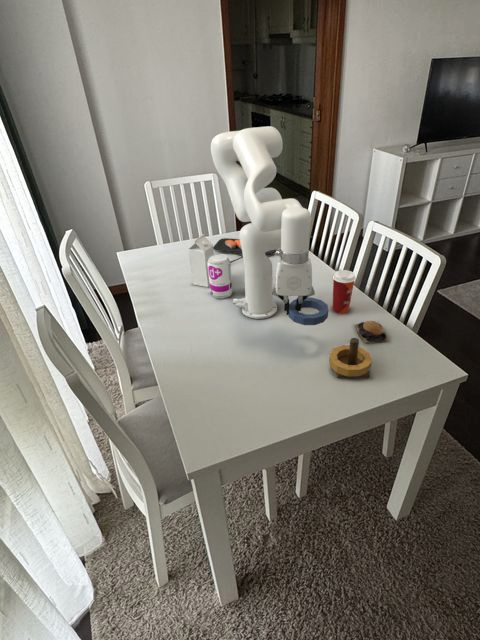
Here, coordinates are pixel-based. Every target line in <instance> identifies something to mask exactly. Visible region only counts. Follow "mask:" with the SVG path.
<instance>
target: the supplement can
mask: <svg viewBox="0 0 480 640" xmlns="http://www.w3.org/2000/svg"><path fill="white" fill-rule="evenodd" d="M230 261H231V259H230V258H229V256H228V255H227V254H225V253H214V255H211V256H210V257H209V260H208V262H207V263H208V273H209V282H210V286H209V289H210V291H209V292H210V295H211V296H212V297H213V298H215V299H226V298H229V297H230V296H231V295H232V294H233V282H232V270H231V267H232V266H231V263H230Z"/></svg>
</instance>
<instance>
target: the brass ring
mask: <svg viewBox="0 0 480 640" xmlns="http://www.w3.org/2000/svg"><path fill="white" fill-rule="evenodd" d="M349 347H350V344H342V345H339V346H337V347H333V349H332V350H331V352H330V353H329V357H328V358H329V359H328V362H329V367H330V369H332V370H333V371H334V372H335V373H336V372H337V373H338V374H341V375H344V376H348V377H353V376H361V375H363V374H366V373H368V371H369V372H370V369H371V367H372V363H373V359H372V356H371V353H370V352H369V351H367V350H366V349H365V348H364V347H361V346H358V353H357V358H359V359H360V360H361V361H362V362H363V363H361V364H358V365H347V364H344V363H342V362H340V361H339V360H338V358H340V357H342V356H348V355H349ZM337 373H336V374H337Z"/></svg>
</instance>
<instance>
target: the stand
mask: <svg viewBox="0 0 480 640" xmlns="http://www.w3.org/2000/svg"><path fill="white" fill-rule="evenodd" d="M349 345H350V347H349V355H348V356H342V357H340V358H338V360H339V361H340V362H342V363H344V364H347V365H358V364H361V363H363V362H362V361H361V360H360V359H359V358H357V353H358V347H360V346H359V345H360V339H359V338H357V337H351V338H350V341H349ZM335 373H336V378H338V379H370V376H371V372H370V370H369V371H368V373H366V374H363V375H361V376H353V377H348V376H344V375H341V374H338V373H337V372H335Z"/></svg>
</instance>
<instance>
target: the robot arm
mask: <svg viewBox="0 0 480 640" xmlns="http://www.w3.org/2000/svg"><path fill="white" fill-rule="evenodd" d="M283 145H284V143H283V137H282V135H281V133H280V131H279V130H278V129H277V128H276V127H274V126H271V125H270V126H269V125H268V126H258V127H247V128H243V129H241V130H233V131H232V130H231V131H225V132H221V133H218V134H216V135H215V136H214V137H213V138H212V140H211V142H210V154H211V159H212V162H213V165H214V167H215V169H216V171H217V173H218V175H219V177H220V178H221V180H222V181H223V183H224V185H225V186H226V190H227V192H228V196H229V198H230V202H231V205H232V208H233V211H234V213H235V215H236V218H237V219H238V220H239V221H240V222H242V223H247V224H245V225H243V226H242V227H241V228H240V230H239V234H238V236H239V237H238V239H240V244H241V248H242V253H241V254H242V256H243V258H242V261H243V274H244V276H243V277H244V293H245V296H244V297H242V298H233V300H232V302H233V305H235V306H236V308H241V312H242V314H243V315H245V316H246V317H247V318H250V319H255V320H263V319H268V318H271V317H273V316H274V315H275V314H276V313H277V312H278V306H277V304H276V303H275V302H274V301H273V299H274V298H273V297H278V299H279V300H281V301H282V302H283V304H284V305H283V311H284V312H286V316H289V304H290V299H289V297H293V296H294V297H297V298H295V299H296V310H297V311H298V312H302V308H301V303H302V302H303V301H304V300H305V299H306V298H307V297H313V296H315V295H316V292H315V289H314V286H313V267H312V266H313V265H312V260H311V258H310V257H309V252H310V239H311V238H310V237H311V222H312V221H311V220H312V215H311V212H310V210H308V209H307V208H305V207H303V206H302V204H301V203H300V202H299V200H298V199H296V198H291V197H290V198H282V195H281V194H280V192H279V191H278V190H277V189H276V188H274V187H267V186H269V185H270V184H271V183H272V182H273V181H274V179H275V178H276V175H277V172H278V171H277V166H276V164H275V162H274V160H273V158H277V157H279V156H280V155H281V153H282V151H283V147H284V146H283ZM237 162H239V163H240V164H238V163H237ZM249 222H250V223H249ZM275 249H276V250H275ZM271 250H275V257H279V258H278V260H277V264H276V271H275V283H274V285H273V263H272V261H271V259H270V258H269V257H268V256H267V254H265V253H266V252H267V251H271Z"/></svg>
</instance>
